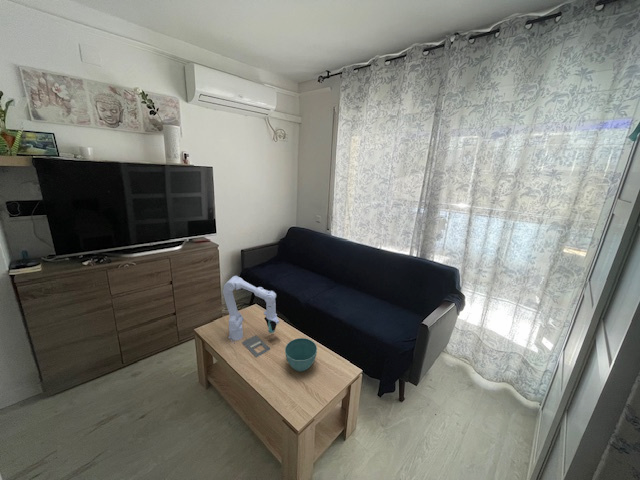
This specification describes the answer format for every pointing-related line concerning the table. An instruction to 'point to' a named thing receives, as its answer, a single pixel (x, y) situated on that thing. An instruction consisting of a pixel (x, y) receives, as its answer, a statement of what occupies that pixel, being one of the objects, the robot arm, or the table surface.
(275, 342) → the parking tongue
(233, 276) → the robot arm
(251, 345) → the plate
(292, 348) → the teal bowl
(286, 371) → the table surface
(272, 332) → the peg
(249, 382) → the table surface
